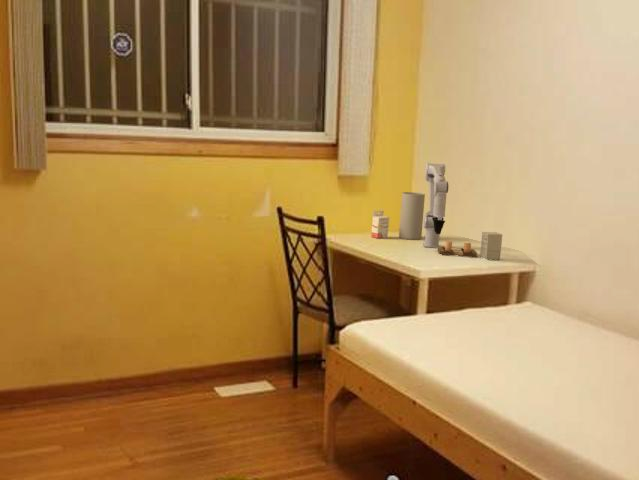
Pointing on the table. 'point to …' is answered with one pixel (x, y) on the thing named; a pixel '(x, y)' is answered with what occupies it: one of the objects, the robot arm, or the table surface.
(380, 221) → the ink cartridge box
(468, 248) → the pin
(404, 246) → the table surface
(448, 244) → the loose pin
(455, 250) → the wooden grid frame
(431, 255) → the table surface
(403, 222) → the cylinder vase
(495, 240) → the supplement box
